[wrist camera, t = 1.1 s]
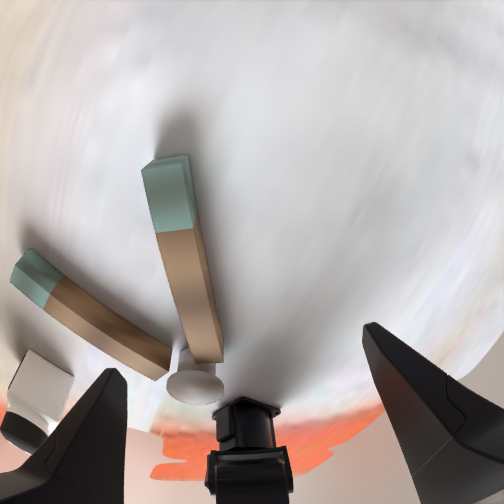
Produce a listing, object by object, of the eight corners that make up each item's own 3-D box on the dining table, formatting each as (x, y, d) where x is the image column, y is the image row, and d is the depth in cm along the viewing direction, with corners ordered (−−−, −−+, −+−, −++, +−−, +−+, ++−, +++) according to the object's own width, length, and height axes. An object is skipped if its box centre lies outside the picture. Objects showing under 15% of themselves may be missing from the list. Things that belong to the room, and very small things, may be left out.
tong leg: (223, 339, 26) (223, 362, 23) (197, 341, 26) (195, 364, 23) (188, 153, 18) (181, 163, 15) (152, 160, 18) (141, 170, 15)
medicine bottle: (28, 347, 26) (-8, 423, 16) (75, 376, 29) (49, 457, 18) (23, 369, 28) (-5, 436, 18) (65, 395, 31) (44, 464, 21)
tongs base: (234, 357, 27) (236, 390, 24) (199, 380, 29) (198, 411, 26) (42, 222, 19) (15, 245, 15) (24, 264, 21) (3, 289, 17)
